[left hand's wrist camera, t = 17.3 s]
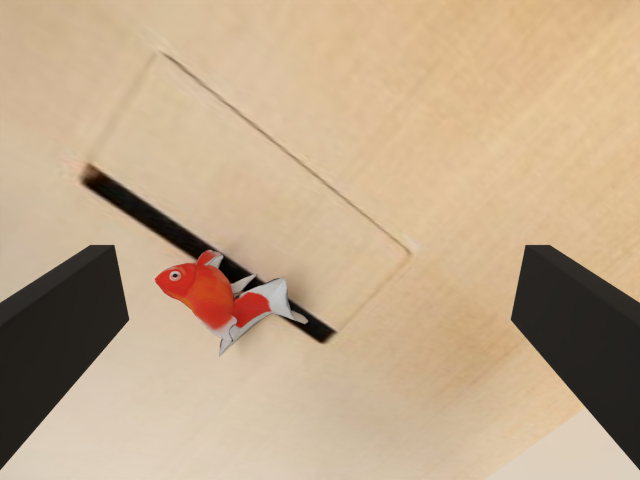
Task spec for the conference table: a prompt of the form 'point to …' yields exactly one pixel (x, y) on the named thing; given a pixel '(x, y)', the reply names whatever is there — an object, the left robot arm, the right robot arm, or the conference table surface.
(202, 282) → the fish
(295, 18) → the conference table surface
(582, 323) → the left robot arm
